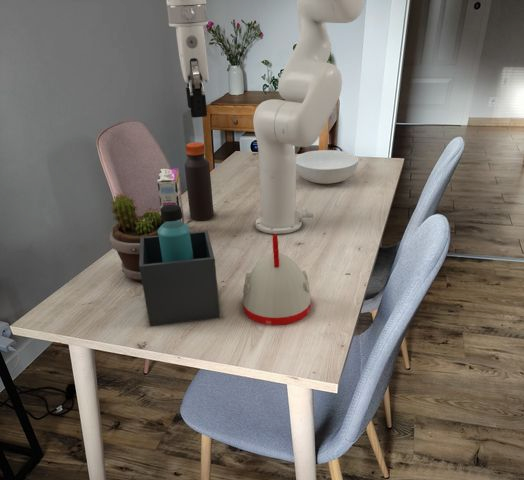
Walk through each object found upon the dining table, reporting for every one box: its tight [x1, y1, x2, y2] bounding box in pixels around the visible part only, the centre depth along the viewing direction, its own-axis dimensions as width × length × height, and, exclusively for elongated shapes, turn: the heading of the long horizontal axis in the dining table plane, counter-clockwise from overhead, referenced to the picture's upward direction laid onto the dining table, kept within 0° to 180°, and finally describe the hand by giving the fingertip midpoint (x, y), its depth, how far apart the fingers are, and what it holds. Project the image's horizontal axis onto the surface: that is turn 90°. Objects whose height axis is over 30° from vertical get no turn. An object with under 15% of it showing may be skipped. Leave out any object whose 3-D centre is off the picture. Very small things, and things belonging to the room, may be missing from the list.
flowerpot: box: [108, 189, 167, 284], centre depth 119 cm, size 14×15×20 cm
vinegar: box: [184, 141, 215, 222], centre depth 148 cm, size 7×7×20 cm
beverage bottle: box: [158, 205, 194, 262], centre depth 106 cm, size 6×7×20 cm
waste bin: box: [139, 230, 221, 327], centre depth 109 cm, size 14×14×13 cm
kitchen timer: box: [242, 234, 312, 326], centre depth 106 cm, size 14×14×15 cm
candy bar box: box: [156, 167, 185, 223], centre depth 138 cm, size 11×5×16 cm, turn 5°
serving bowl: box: [295, 149, 359, 185], centre depth 175 cm, size 21×21×7 cm
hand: (197, 111), depth 112 cm, fingers open, 9 cm apart
